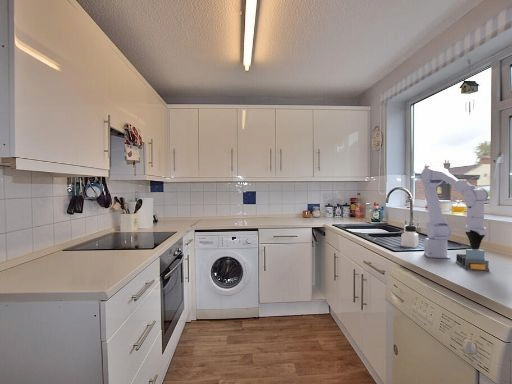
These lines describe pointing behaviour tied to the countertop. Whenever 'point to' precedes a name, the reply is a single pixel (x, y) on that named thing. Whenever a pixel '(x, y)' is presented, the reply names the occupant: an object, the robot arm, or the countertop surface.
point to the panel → (474, 254)
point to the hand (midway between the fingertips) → (475, 249)
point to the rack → (472, 263)
